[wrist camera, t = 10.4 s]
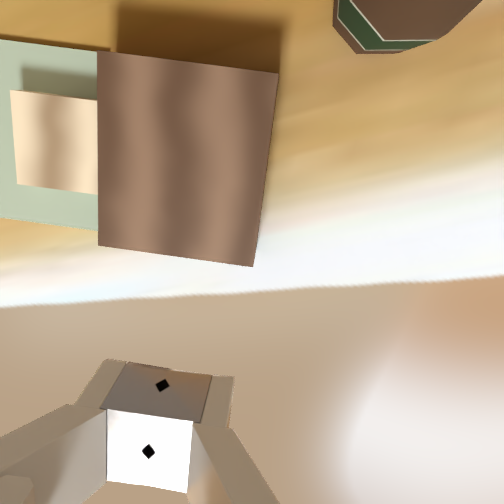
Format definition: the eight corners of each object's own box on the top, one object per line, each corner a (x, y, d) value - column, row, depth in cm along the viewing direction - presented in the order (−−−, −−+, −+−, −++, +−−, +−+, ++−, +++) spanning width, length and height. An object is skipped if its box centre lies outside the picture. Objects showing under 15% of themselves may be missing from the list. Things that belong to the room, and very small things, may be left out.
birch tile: (112, 101, 37) (103, 101, 36) (112, 190, 40) (104, 195, 38) (23, 89, 38) (9, 89, 36) (29, 179, 40) (17, 184, 39)
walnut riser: (279, 75, 36) (278, 73, 32) (255, 251, 42) (252, 267, 38) (116, 54, 36) (96, 50, 33) (114, 231, 42) (98, 245, 38)
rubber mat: (110, 53, 36) (108, 53, 36) (109, 231, 42) (108, 232, 42) (-28, 35, 37) (-31, 35, 36) (-10, 214, 42) (-12, 215, 42)
